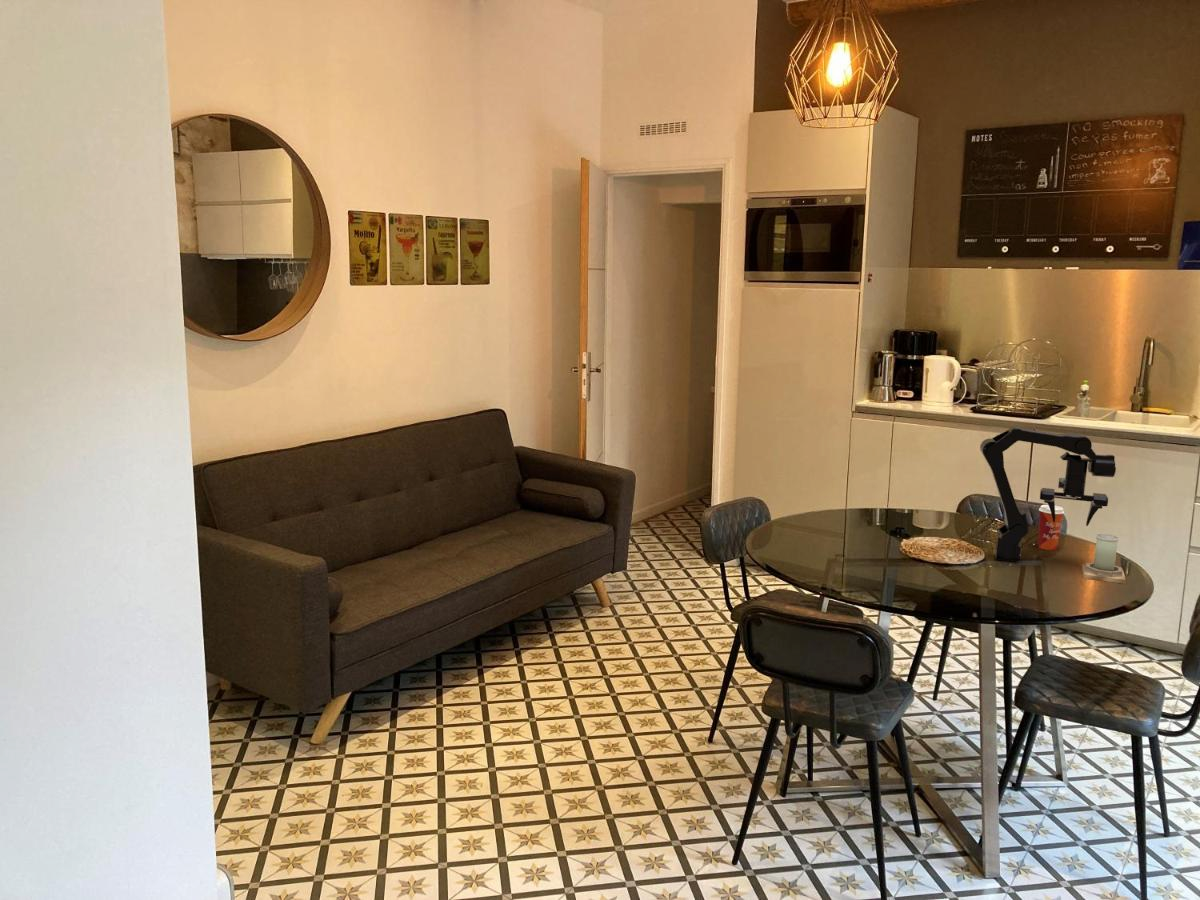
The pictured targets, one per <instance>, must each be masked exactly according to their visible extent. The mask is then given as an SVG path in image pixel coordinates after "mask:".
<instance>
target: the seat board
mask: <svg viewBox="0 0 1200 900" xmlns="http://www.w3.org/2000/svg"><path fill="white" fill-rule="evenodd" d="M1093 566H1094V561H1092V562H1086V563H1085V564H1081V570H1082V578H1083V579H1086V580H1096V581H1103V582H1108V583H1118V584H1123V585H1126V582H1127V581H1126V580H1127V579H1126V576H1125V572H1124V570H1123V567H1120V566H1118V565H1115V568H1114V571H1104V570H1098V569H1095V568H1093Z"/></svg>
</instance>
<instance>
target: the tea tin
mask: <svg viewBox="0 0 1200 900" xmlns="http://www.w3.org/2000/svg"><path fill="white" fill-rule="evenodd" d="M1095 537H1096V540H1095V551H1094V558H1093V562H1094V566H1093V568H1095V569H1098V570H1104V571H1114V568H1115V566H1116V558H1117V551H1118V550H1117V549H1118V542H1119V537H1118V536H1116V535H1112V534H1107V533H1098V534H1096V535H1095Z"/></svg>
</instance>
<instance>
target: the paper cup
mask: <svg viewBox="0 0 1200 900" xmlns="http://www.w3.org/2000/svg"><path fill="white" fill-rule="evenodd" d="M1038 511H1039V515H1038V516H1039V517H1038V518H1039V519H1038V520H1039V521H1038V542H1037V543H1038V545H1037V546H1038V548H1039V549H1040V548H1041V549H1040V550H1044V549H1045V551H1056V550H1057V548H1058V544H1059V539H1060V533H1061V528H1062V522H1063V517H1064V514H1065V511H1064V508H1063V507H1062V506H1058V505H1055V522H1053V518H1052V514H1051V510H1050V508H1049V505H1048V504H1042V505H1040V507H1039V509H1038ZM1055 549H1056V550H1055Z"/></svg>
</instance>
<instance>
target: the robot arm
mask: <svg viewBox="0 0 1200 900" xmlns="http://www.w3.org/2000/svg"><path fill="white" fill-rule="evenodd" d="M1019 441H1020V442H1024V443H1030V444H1035V445H1036V444H1039V445H1043V446H1050V447H1056V448H1059V449H1062V450H1065V453H1064V454H1062V455H1060V457H1059V459H1061V460H1062V461H1066V468H1065V476H1064V477H1059V478H1058V485H1057V486H1058V487H1057V488H1058V489H1062V492H1059V491H1055V488H1050V487H1049V488H1048V487H1047V488H1046V487H1042V488H1040V492H1039V500H1042V501H1043V503H1044V504H1045V503H1046V504H1047V505H1049V508H1050V510H1051V514H1052V518H1053V522H1055V506H1056V504H1055V502H1056V501H1055V499H1062V500H1063V499H1064V500H1072V501H1081V502H1082V501H1083V502H1090V503H1089V504H1090V506H1089V511H1088V514H1087V517H1086V522H1085V523H1086V524H1085V526H1086V527H1088V526H1089V525H1090V522H1091V521H1092V519H1093V517H1094V515H1095V514H1096V513H1097V512H1098V510H1099V509H1101V510H1102V509H1103V507H1108V505H1109V504H1108V503H1109V497H1108V495H1107V494H1106V493H1100V492H1099V493H1098V492H1093V493H1092V495H1088V494H1087V495H1086V494H1085V489H1086V481H1087V473H1091V475H1092V477H1100V478H1101V477H1102V478H1104V477H1105V478H1114V477H1115V474H1116V472H1117V467H1116V461H1115V458H1116V457H1115V455H1114V454H1096V452H1095V450H1093V449H1092V445H1093V444H1092V441H1091V440H1090V439H1089V437H1087V436H1085V434H1082V433H1078V432H1077V433H1076V432H1075V433H1069V432H1068V433H1054V432H1053V433H1051V432H1047V431H1040V430H1034V429H1028V428H1023V427H1018V426H1011V427H1010V428H1008V429H1007V430H1005V431H1003V432H1002V433H999V434H996V435H995V436H993V437H992V438H986V439H984V440H983V441H982V442H980V445H979V446H980V447H979V448H980V452H981V454H982V456H983V457H984V459H985V461H986V463H987V464H988V466H989V468H990V470H991V473H992V476H993V479H994V482H995V485H996V488H997V491H998V494H999V499H1000V500H1001V503H1002V504H1001V505H1002V507H1003V512H1004V513H1003V515H1004V517H1003V518H1004V524H1003V525H1001V527H1000V528H997V534H998V537H997V543H996V545H997V547H996V553H995V556H994V557H995V560H999V561H1006V562H1011V563H1012V562H1013V563H1018V561H1019V560H1020V558H1021V551H1022V550H1021V548H1022V545H1021V544H1020V542H1021V540H1022V538H1025V537H1026V536H1027V535H1028V533H1029V527H1030V524H1029V522H1028V519H1027V518H1028V517H1027V514H1026V512H1025V511H1024V509H1020V510H1019V508H1018V506H1017V503H1016V500H1015V496H1014V494H1013V489H1012V487H1011V485H1010V483H1009V481H1010V480H1009V478H1008V476H1007V473H1006V469H1005V464H1004V463H1005V462H1004V460H1005V459H1004V458H1005V457H1004V452H1005V451H1007V450H1008V449H1010V447H1012V446H1013V445H1015V443H1017V442H1019ZM1070 453H1073V454H1070ZM1082 455H1084V456H1085V457H1082ZM1087 471H1088V472H1087Z"/></svg>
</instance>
